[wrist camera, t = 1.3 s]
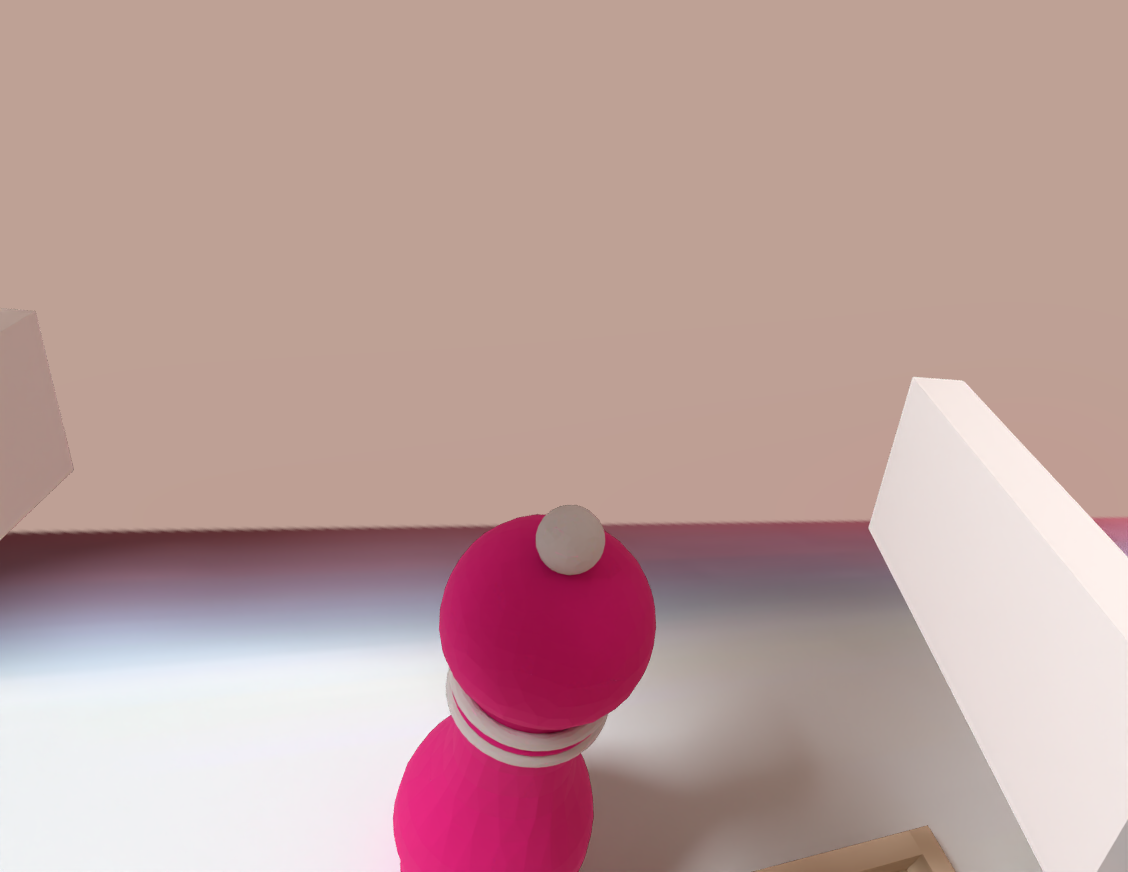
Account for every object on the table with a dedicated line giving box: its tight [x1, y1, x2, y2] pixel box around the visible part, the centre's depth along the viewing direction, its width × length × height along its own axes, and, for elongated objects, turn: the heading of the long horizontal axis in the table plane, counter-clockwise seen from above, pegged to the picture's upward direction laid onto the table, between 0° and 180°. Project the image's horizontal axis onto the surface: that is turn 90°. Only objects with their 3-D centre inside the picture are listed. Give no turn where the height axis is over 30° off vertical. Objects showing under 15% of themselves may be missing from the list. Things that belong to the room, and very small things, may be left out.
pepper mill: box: [393, 505, 656, 872], centre depth 27 cm, size 7×7×20 cm
